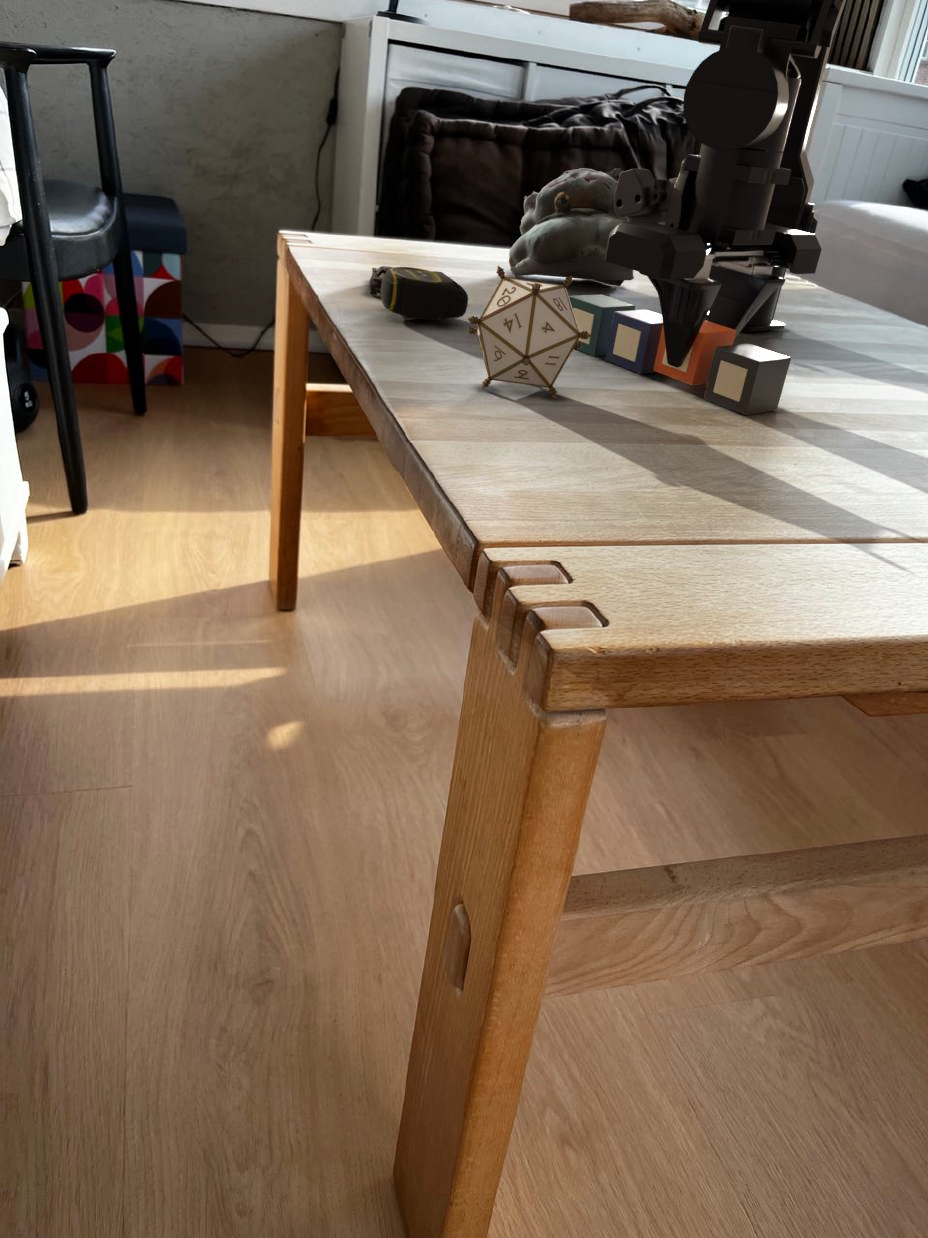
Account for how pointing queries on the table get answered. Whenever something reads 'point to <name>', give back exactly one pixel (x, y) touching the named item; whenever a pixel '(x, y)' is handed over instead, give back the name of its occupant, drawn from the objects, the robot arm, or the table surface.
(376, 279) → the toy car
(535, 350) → the game die
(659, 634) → the table surface
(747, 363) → the block
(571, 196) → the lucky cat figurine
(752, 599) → the table surface
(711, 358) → the loose block
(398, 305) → the tape measure
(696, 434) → the table surface
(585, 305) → the block
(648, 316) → the block
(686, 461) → the table surface
